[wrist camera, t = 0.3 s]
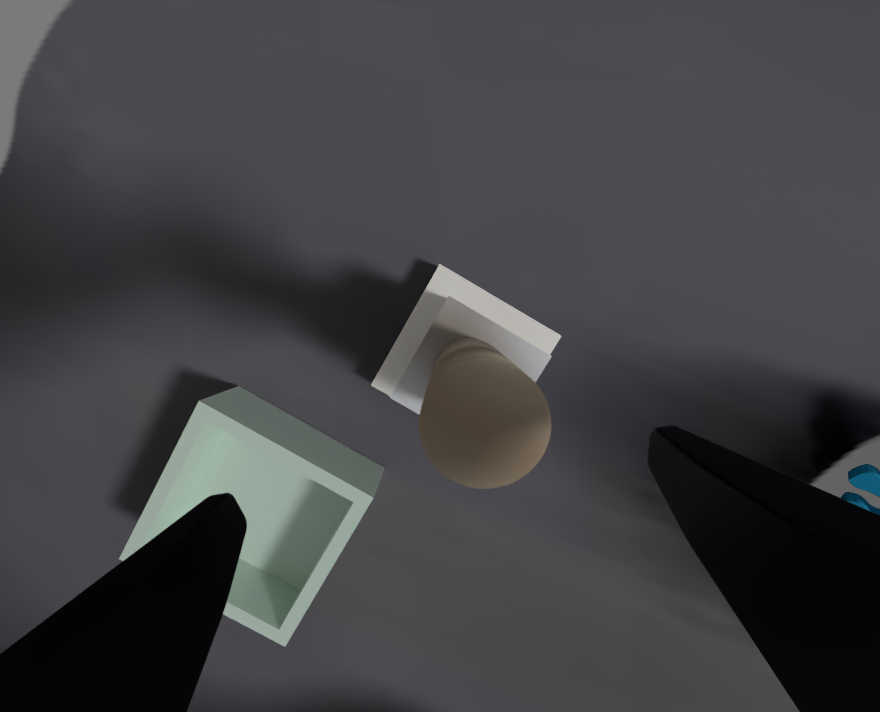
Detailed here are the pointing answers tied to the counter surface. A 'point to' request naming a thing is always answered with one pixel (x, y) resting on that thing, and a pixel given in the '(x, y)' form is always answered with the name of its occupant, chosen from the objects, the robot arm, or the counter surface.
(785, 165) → the counter surface
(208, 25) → the counter surface
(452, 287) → the stud plate
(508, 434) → the stamp
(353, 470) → the tray
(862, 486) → the blue lobed toy
